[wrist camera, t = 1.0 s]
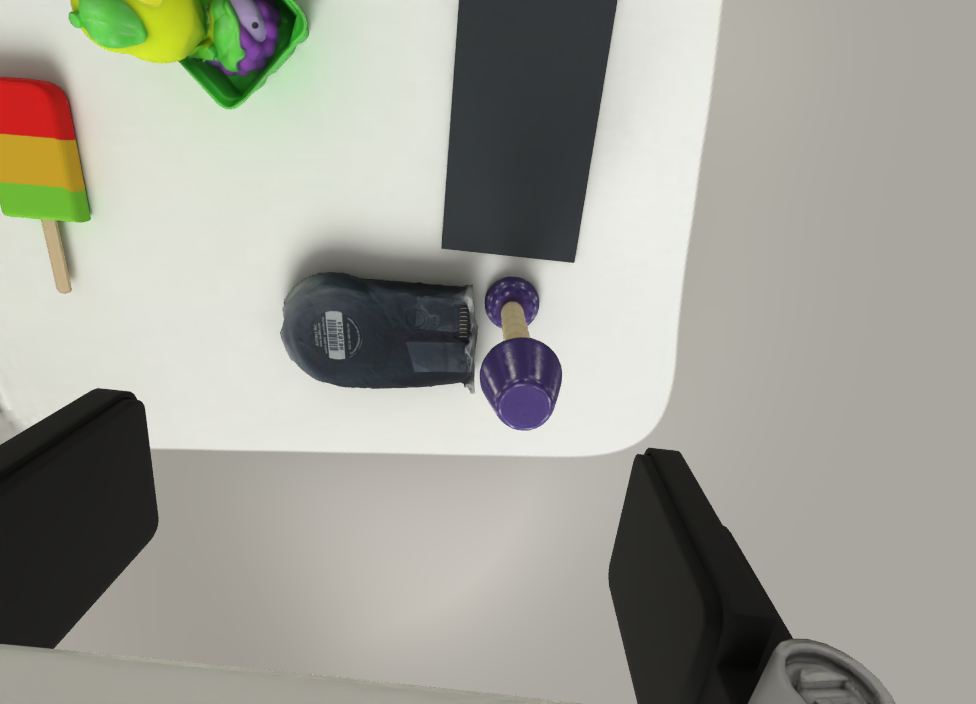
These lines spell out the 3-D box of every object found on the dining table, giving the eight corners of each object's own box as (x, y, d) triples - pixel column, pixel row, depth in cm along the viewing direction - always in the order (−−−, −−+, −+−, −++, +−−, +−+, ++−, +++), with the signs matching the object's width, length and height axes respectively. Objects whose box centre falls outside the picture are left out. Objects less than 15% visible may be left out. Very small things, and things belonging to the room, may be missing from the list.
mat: (464, -75, 34) (464, -77, 34) (625, -56, 34) (626, -58, 34) (441, 247, 42) (441, 248, 41) (573, 261, 42) (574, 262, 41)
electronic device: (473, 262, 43) (275, 266, 42) (480, 290, 39) (257, 296, 37) (472, 364, 48) (294, 371, 46) (478, 400, 43) (280, 410, 42)
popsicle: (68, 82, 38) (47, 80, 36) (108, 292, 44) (91, 299, 42) (-12, 75, 38) (-37, 73, 36) (38, 287, 44) (19, 293, 42)
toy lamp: (552, 285, 42) (581, 376, 27) (536, 340, 44) (553, 455, 29) (492, 270, 42) (486, 353, 27) (477, 326, 44) (464, 434, 28)
